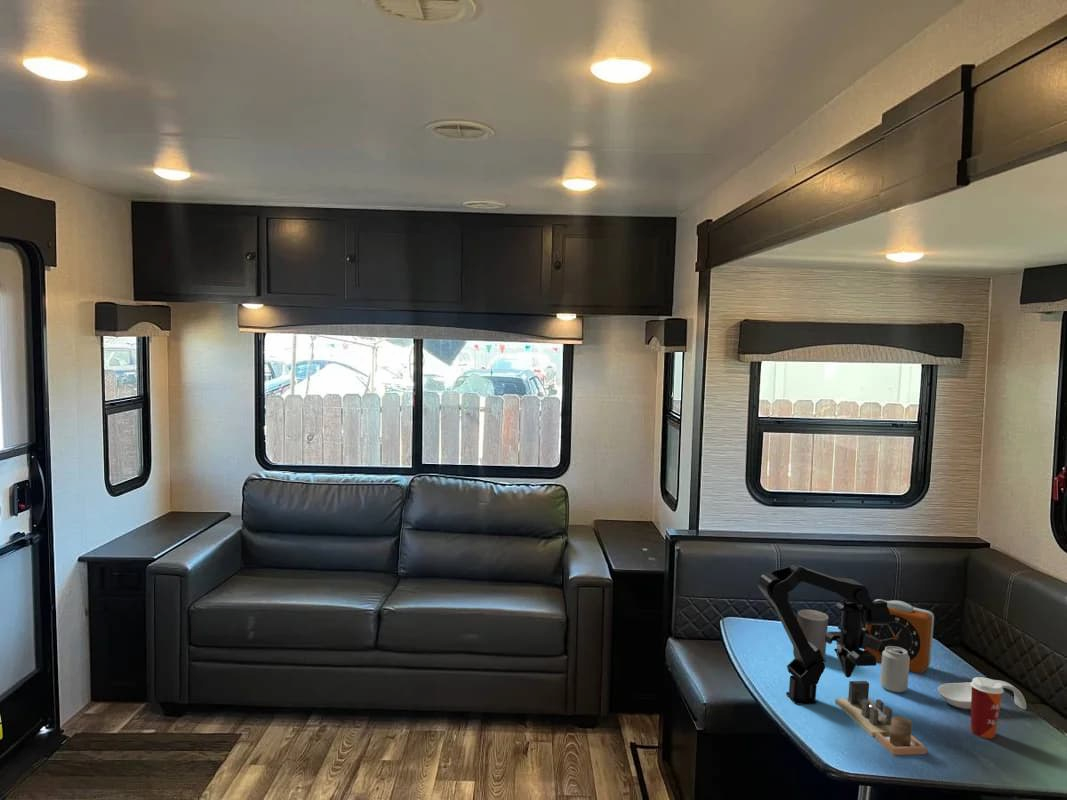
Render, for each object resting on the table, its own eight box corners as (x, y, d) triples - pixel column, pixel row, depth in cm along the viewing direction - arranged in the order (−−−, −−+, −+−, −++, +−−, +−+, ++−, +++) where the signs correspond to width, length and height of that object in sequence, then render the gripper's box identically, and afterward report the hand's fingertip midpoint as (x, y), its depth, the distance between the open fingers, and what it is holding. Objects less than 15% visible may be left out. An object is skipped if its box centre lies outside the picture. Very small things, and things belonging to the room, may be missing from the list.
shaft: (874, 724, 207) (876, 703, 207) (848, 701, 221) (849, 681, 220) (892, 724, 208) (893, 703, 207) (864, 700, 221) (866, 681, 221)
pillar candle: (788, 651, 259) (791, 607, 258) (810, 647, 264) (813, 604, 262) (809, 662, 251) (813, 617, 249) (832, 658, 255) (835, 614, 253)
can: (910, 695, 229) (913, 655, 229) (883, 692, 231) (886, 652, 230) (903, 684, 237) (906, 646, 236) (877, 681, 238) (880, 643, 237)
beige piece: (871, 736, 204) (872, 716, 203) (835, 702, 223) (836, 684, 222) (907, 735, 205) (908, 716, 205) (868, 702, 224) (869, 683, 223)
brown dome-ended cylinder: (896, 748, 197) (898, 725, 197) (885, 738, 202) (887, 716, 202) (914, 748, 198) (916, 725, 197) (903, 738, 203) (905, 716, 202)
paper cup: (999, 743, 203) (1003, 691, 202) (965, 734, 207) (970, 683, 206) (999, 731, 210) (1004, 681, 208) (967, 723, 214) (971, 673, 212)
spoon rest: (950, 714, 219) (952, 689, 219) (929, 695, 231) (931, 671, 230) (1034, 716, 219) (1036, 692, 219) (1008, 697, 231) (1010, 674, 231)
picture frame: (892, 754, 195) (893, 748, 195) (875, 738, 203) (875, 732, 203) (926, 754, 196) (926, 747, 196) (907, 737, 204) (908, 731, 204)
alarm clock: (862, 658, 256) (867, 597, 254) (871, 650, 262) (875, 591, 261) (923, 675, 244) (928, 611, 242) (930, 667, 250) (935, 605, 249)
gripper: (896, 636, 216) (892, 691, 217) (860, 613, 235) (856, 663, 236) (858, 636, 215) (854, 691, 216) (825, 613, 233) (822, 663, 234)
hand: (847, 676), depth 226 cm, fingers closed
